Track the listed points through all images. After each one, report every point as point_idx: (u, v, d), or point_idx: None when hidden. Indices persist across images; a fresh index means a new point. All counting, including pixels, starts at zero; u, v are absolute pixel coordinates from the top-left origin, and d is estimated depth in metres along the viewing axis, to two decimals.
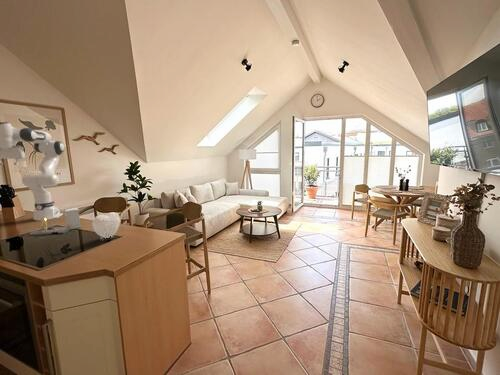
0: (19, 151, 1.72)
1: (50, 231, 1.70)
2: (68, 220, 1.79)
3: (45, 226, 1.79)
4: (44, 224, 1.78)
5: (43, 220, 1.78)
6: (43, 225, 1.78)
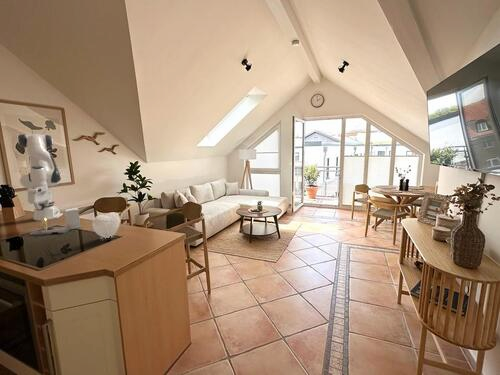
0: (51, 192, 1.85)
1: (50, 231, 1.70)
2: (68, 220, 1.79)
3: (45, 226, 1.79)
4: (44, 224, 1.78)
5: (43, 220, 1.78)
6: (43, 225, 1.78)
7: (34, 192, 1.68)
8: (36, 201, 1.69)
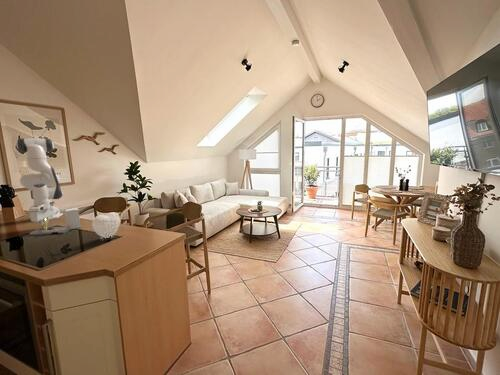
0: (53, 208, 1.87)
1: (50, 231, 1.70)
2: (68, 220, 1.79)
3: (45, 226, 1.79)
4: (44, 224, 1.78)
5: (43, 220, 1.78)
6: (43, 225, 1.78)
7: (36, 210, 1.70)
8: (38, 219, 1.71)
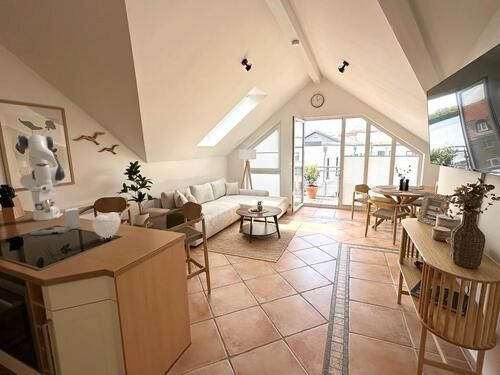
0: (55, 190, 1.78)
1: (50, 231, 1.70)
2: (68, 220, 1.79)
3: (48, 208, 1.70)
4: (47, 206, 1.70)
5: (45, 202, 1.69)
6: (45, 207, 1.69)
7: (38, 190, 1.61)
8: (41, 200, 1.62)
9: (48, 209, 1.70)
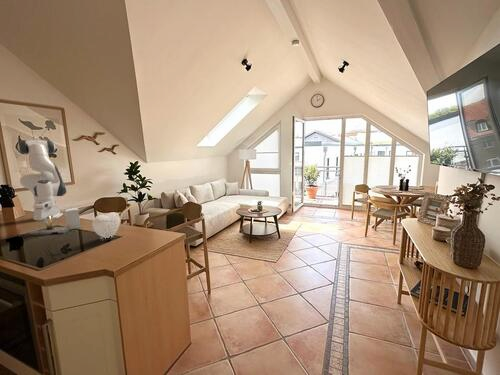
0: (57, 206, 1.80)
1: (50, 231, 1.70)
2: (68, 220, 1.79)
3: (50, 224, 1.72)
4: (49, 222, 1.71)
5: (47, 218, 1.71)
6: (47, 223, 1.71)
7: (41, 208, 1.62)
8: (43, 217, 1.64)
9: (50, 225, 1.72)
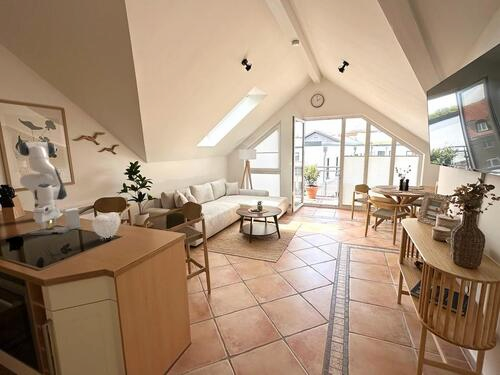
0: (58, 209, 1.80)
1: (50, 231, 1.70)
2: (68, 220, 1.79)
3: (50, 229, 1.72)
4: (49, 227, 1.72)
5: (48, 223, 1.71)
6: (48, 228, 1.72)
7: (41, 211, 1.63)
8: (43, 220, 1.65)
9: None
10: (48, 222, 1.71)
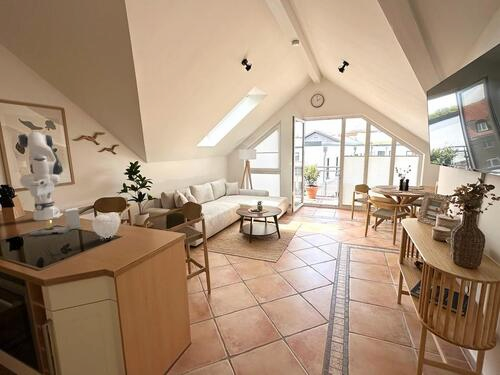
0: (53, 184, 1.82)
1: (50, 231, 1.70)
2: (68, 220, 1.79)
3: (50, 229, 1.72)
4: (49, 227, 1.72)
5: (48, 223, 1.71)
6: (48, 228, 1.72)
7: (36, 185, 1.64)
8: (39, 194, 1.66)
9: None
10: (48, 222, 1.71)
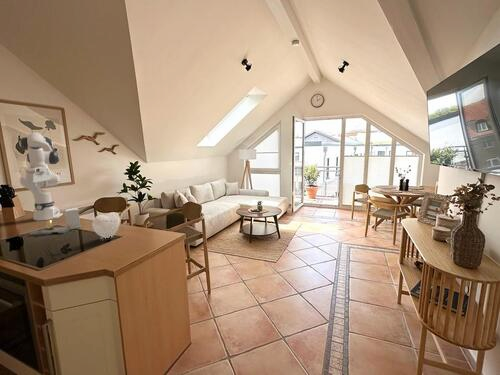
0: (49, 173, 1.87)
1: (50, 231, 1.70)
2: (68, 220, 1.79)
3: (50, 229, 1.72)
4: (49, 227, 1.72)
5: (48, 223, 1.71)
6: (48, 228, 1.72)
7: (32, 172, 1.69)
8: (34, 181, 1.71)
9: None
10: (48, 222, 1.71)
